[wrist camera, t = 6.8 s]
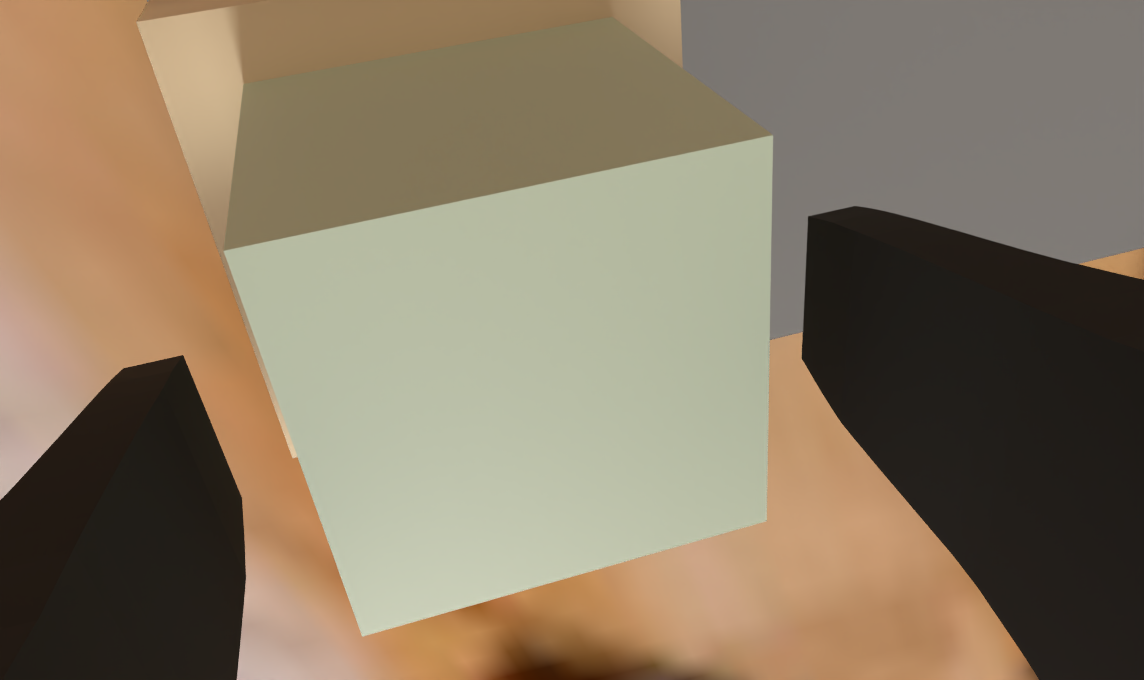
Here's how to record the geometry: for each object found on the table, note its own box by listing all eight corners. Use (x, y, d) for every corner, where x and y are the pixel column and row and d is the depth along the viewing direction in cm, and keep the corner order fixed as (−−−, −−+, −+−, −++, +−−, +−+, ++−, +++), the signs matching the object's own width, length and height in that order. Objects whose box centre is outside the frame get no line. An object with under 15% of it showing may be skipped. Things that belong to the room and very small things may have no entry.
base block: (622, 259, 19) (692, 359, 16) (290, 334, 18) (292, 458, 15) (593, -101, 15) (677, -67, 12) (169, -36, 14) (135, 22, 11)
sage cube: (636, 320, 15) (766, 520, 11) (339, 392, 14) (361, 636, 10) (612, 16, 13) (773, 135, 8) (243, 84, 12) (223, 250, 8)
